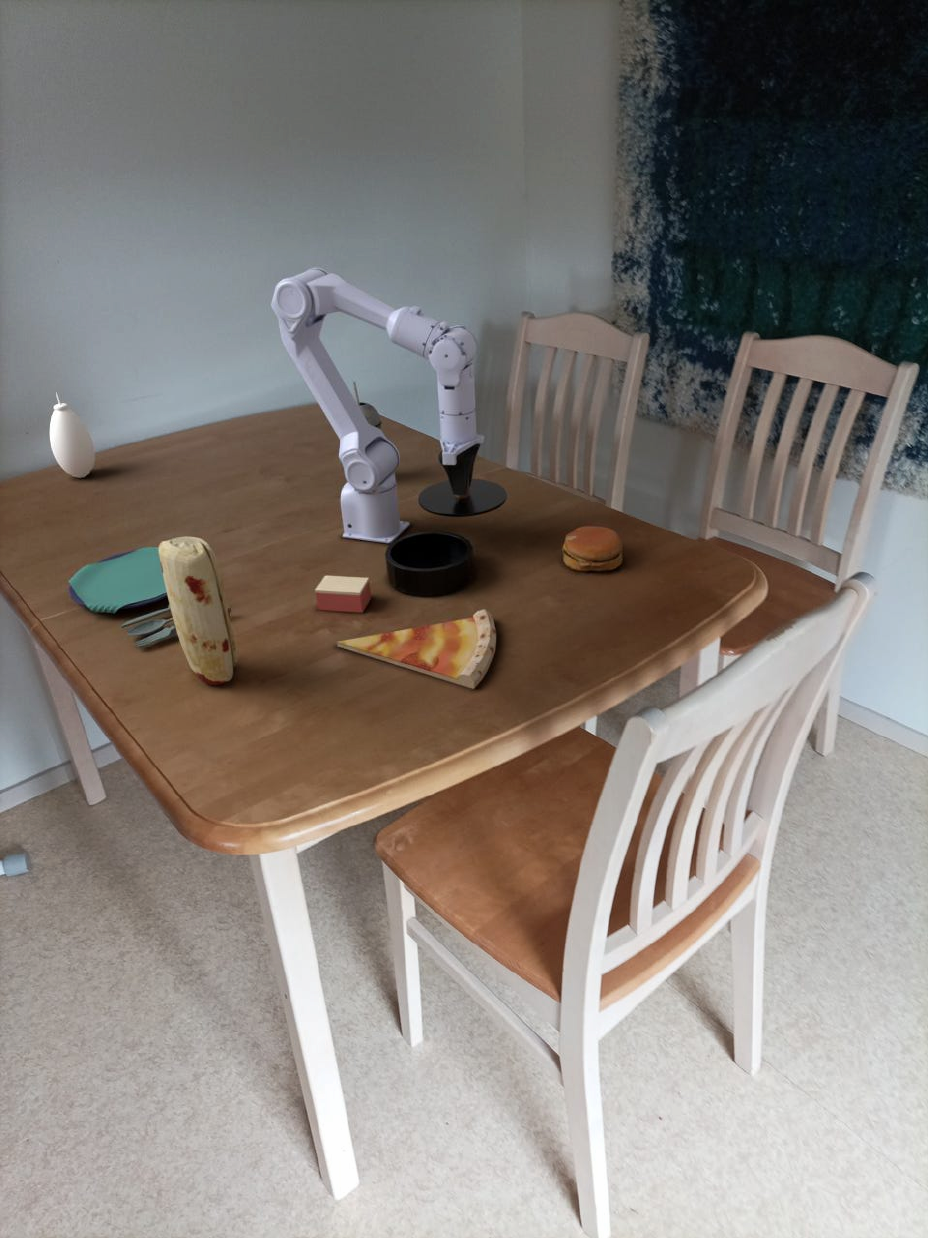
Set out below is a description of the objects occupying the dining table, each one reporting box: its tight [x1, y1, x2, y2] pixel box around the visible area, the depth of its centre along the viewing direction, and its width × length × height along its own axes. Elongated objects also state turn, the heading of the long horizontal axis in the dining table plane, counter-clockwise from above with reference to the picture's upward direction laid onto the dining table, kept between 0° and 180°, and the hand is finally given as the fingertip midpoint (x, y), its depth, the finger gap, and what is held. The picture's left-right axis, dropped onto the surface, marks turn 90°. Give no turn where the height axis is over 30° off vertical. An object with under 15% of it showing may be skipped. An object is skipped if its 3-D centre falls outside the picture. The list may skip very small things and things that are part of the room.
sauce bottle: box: [49, 391, 96, 479], centre depth 179 cm, size 8×8×18 cm
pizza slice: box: [336, 608, 497, 690], centre depth 122 cm, size 16×22×2 cm
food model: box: [158, 535, 239, 686], centre depth 113 cm, size 10×7×20 cm
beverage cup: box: [352, 380, 382, 431], centre depth 169 cm, size 7×7×20 cm
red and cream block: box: [314, 574, 372, 614], centre depth 131 cm, size 7×4×4 cm, turn 78°
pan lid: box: [417, 478, 508, 518], centre depth 143 cm, size 15×15×5 cm
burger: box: [561, 525, 624, 572], centre depth 139 cm, size 10×9×5 cm
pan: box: [384, 530, 475, 598], centre depth 137 cm, size 14×14×4 cm
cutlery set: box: [67, 546, 232, 648], centre depth 136 cm, size 20×30×2 cm, turn 37°
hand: (461, 490), depth 143 cm, fingers closed on pan lid, 2 cm apart
